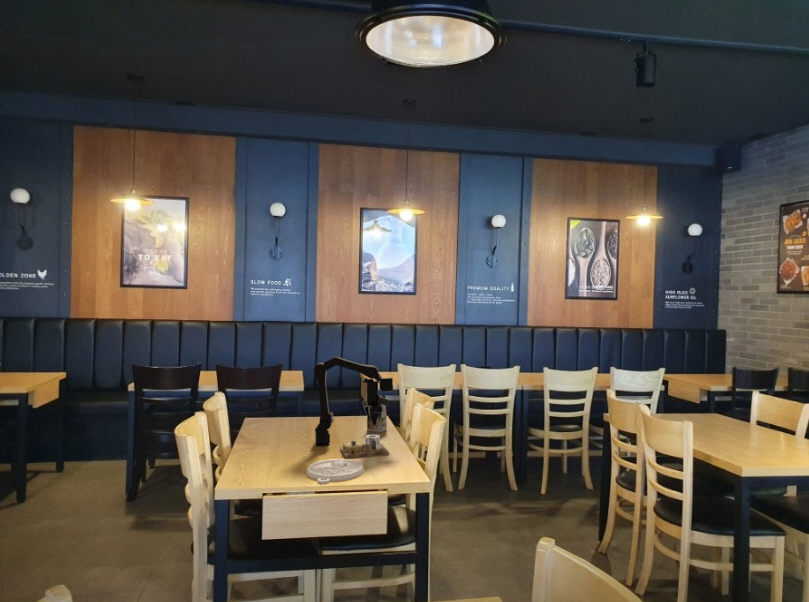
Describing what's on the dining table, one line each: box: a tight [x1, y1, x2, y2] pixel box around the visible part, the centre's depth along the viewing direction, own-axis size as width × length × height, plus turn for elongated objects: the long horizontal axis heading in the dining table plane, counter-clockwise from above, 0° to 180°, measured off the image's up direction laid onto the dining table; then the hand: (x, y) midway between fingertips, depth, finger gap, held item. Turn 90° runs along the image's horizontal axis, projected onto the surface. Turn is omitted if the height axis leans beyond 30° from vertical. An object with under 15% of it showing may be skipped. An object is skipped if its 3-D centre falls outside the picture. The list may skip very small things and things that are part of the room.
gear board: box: [340, 440, 390, 459], centre depth 264 cm, size 20×14×6 cm
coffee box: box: [366, 404, 388, 433], centre depth 306 cm, size 9×6×16 cm
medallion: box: [306, 458, 365, 485], centre depth 234 cm, size 24×27×2 cm
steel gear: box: [364, 434, 381, 445], centre depth 279 cm, size 7×7×4 cm
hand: (372, 423), depth 279 cm, fingers open, 9 cm apart
